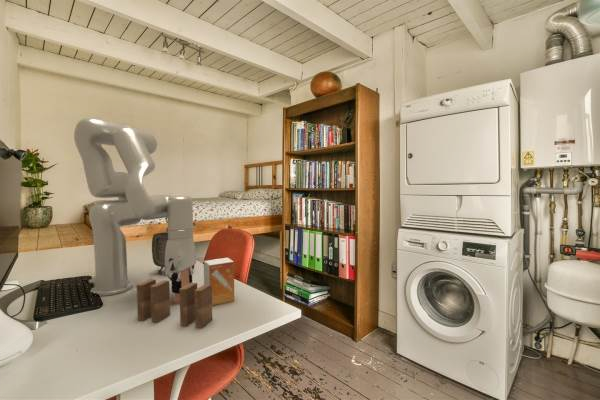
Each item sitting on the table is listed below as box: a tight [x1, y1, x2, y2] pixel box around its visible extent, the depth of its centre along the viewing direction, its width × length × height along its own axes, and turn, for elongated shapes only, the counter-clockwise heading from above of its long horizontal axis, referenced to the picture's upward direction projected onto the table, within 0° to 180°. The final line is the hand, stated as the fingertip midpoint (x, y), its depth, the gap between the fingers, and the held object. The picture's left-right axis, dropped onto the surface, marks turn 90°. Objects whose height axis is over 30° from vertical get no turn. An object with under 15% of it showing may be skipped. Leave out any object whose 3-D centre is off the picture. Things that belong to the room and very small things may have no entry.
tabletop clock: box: [151, 217, 168, 274], centre depth 122 cm, size 14×9×25 cm, turn 73°
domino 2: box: [150, 279, 171, 324], centre depth 81 cm, size 2×5×10 cm, turn 167°
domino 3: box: [174, 268, 189, 304], centre depth 94 cm, size 2×5×10 cm, turn 166°
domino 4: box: [179, 282, 198, 327], centre depth 79 cm, size 2×5×10 cm, turn 166°
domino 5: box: [194, 283, 213, 329], centre depth 78 cm, size 2×5×10 cm, turn 166°
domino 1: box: [136, 278, 157, 322], centre depth 82 cm, size 2×5×10 cm, turn 166°
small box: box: [203, 257, 235, 307], centre depth 93 cm, size 8×6×13 cm
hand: (182, 289), depth 94 cm, fingers closed on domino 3, 4 cm apart
